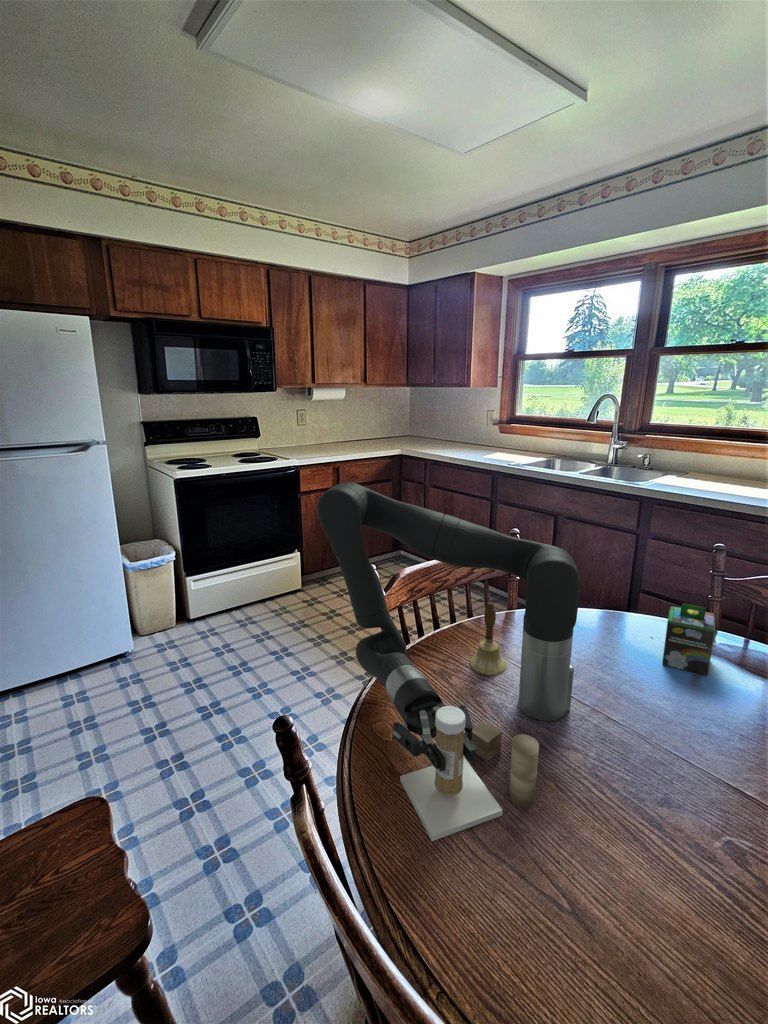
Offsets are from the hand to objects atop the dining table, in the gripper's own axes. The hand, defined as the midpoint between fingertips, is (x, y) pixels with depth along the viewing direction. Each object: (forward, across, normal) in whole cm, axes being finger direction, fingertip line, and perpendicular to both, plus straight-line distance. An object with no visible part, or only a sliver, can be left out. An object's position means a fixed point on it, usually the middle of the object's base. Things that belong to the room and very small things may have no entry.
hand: (458, 761), depth 75 cm
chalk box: (-17, +69, +10) cm, 72 cm away
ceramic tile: (-3, 0, +9) cm, 10 cm away
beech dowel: (+1, +11, +9) cm, 14 cm away
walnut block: (-10, +11, +9) cm, 17 cm away
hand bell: (-33, +26, +10) cm, 43 cm away
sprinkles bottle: (-3, 0, +7) cm, 8 cm away
